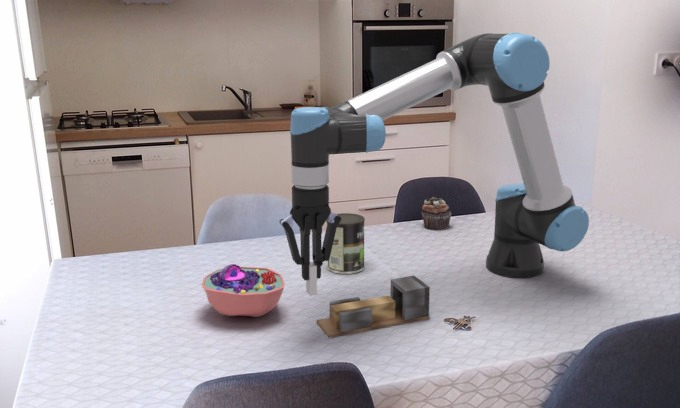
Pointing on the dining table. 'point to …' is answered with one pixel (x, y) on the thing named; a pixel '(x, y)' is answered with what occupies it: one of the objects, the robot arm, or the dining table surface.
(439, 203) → the cupcake
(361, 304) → the brass rectangular bar
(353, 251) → the coffee can
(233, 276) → the cell model
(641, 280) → the dining table surface
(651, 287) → the dining table surface
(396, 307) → the cap board
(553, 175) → the robot arm
